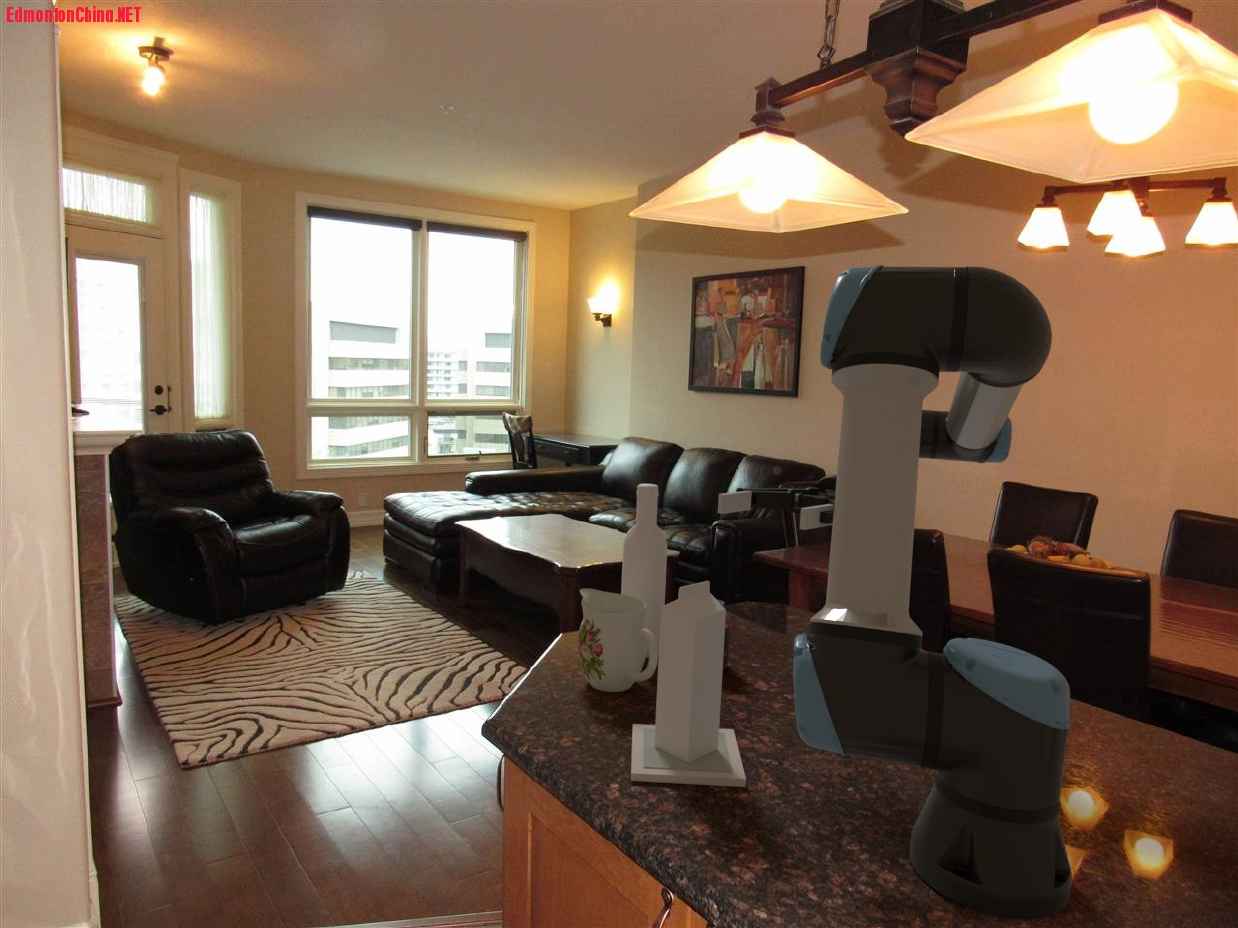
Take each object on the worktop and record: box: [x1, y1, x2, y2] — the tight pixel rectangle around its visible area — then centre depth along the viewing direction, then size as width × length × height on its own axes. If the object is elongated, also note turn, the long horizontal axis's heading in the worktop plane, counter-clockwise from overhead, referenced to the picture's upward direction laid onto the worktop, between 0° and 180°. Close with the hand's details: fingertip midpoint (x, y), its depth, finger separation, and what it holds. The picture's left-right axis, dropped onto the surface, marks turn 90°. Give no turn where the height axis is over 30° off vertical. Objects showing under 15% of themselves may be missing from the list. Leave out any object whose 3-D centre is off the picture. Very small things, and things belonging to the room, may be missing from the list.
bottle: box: [620, 483, 668, 659], centre depth 146 cm, size 8×8×30 cm
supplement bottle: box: [715, 598, 731, 670], centre depth 140 cm, size 6×6×11 cm
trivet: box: [630, 723, 747, 788], centre depth 107 cm, size 14×14×1 cm
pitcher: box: [577, 587, 659, 693], centre depth 130 cm, size 11×18×14 cm, turn 41°
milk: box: [654, 580, 727, 763], centre depth 106 cm, size 6×6×22 cm
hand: (759, 511), depth 110 cm, fingers open, 13 cm apart
